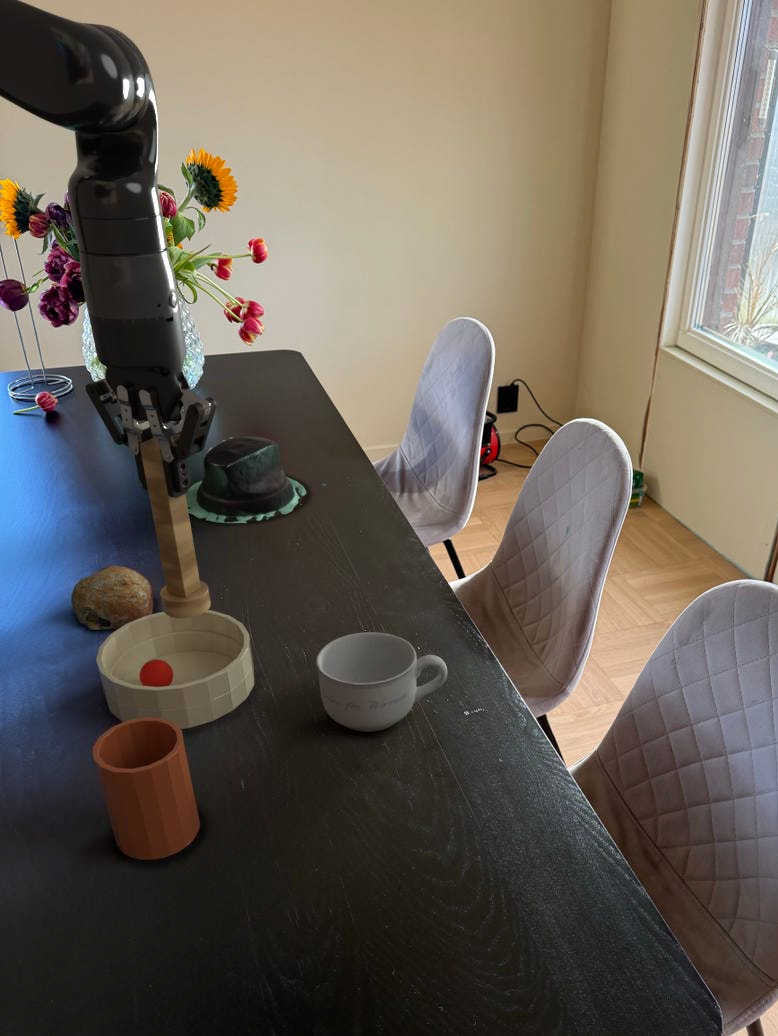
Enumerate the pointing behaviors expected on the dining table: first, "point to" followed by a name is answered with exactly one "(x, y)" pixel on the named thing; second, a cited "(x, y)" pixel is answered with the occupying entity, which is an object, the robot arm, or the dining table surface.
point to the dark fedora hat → (243, 482)
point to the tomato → (156, 673)
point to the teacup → (373, 679)
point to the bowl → (178, 668)
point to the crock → (147, 787)
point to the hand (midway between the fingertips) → (166, 490)
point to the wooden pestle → (173, 541)
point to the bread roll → (112, 598)
